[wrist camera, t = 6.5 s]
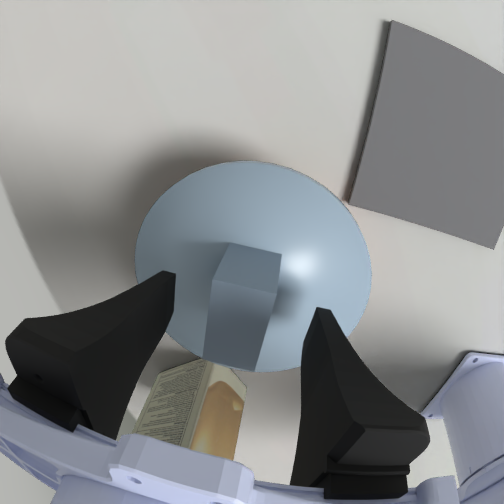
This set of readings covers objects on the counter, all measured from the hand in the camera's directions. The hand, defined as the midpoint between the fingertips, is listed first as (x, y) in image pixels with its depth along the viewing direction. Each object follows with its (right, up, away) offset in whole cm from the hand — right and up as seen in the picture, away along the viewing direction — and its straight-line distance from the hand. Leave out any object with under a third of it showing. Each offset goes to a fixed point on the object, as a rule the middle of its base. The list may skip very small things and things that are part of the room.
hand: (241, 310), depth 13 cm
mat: (+11, +8, 0) cm, 14 cm away
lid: (0, +1, +2) cm, 2 cm away
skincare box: (-3, -7, +11) cm, 13 cm away
